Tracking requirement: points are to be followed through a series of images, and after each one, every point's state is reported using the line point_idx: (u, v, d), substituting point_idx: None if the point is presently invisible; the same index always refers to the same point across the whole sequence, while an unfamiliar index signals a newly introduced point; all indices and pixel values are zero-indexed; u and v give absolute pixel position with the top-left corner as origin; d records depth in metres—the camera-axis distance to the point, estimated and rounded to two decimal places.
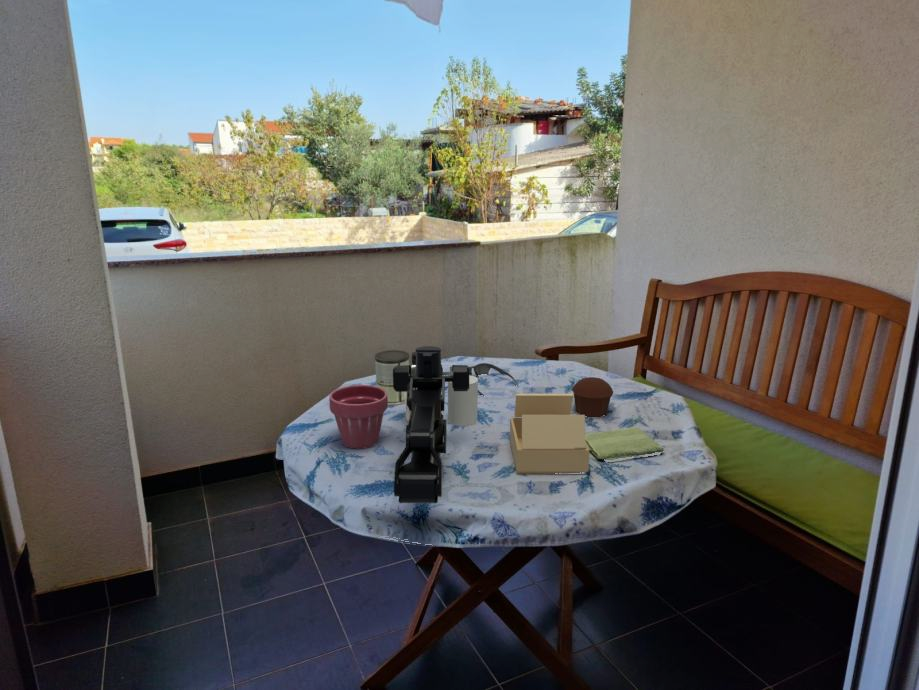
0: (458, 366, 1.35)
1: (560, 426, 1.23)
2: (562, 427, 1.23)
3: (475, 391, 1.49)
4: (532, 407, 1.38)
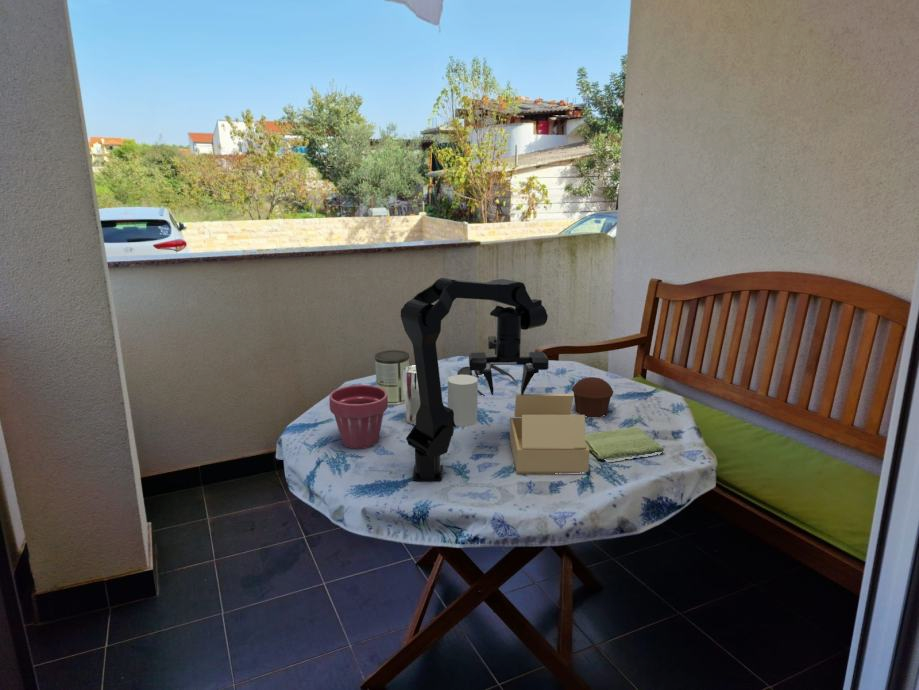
0: None
1: (560, 426, 1.23)
2: (562, 427, 1.23)
3: (475, 391, 1.49)
4: (532, 407, 1.37)
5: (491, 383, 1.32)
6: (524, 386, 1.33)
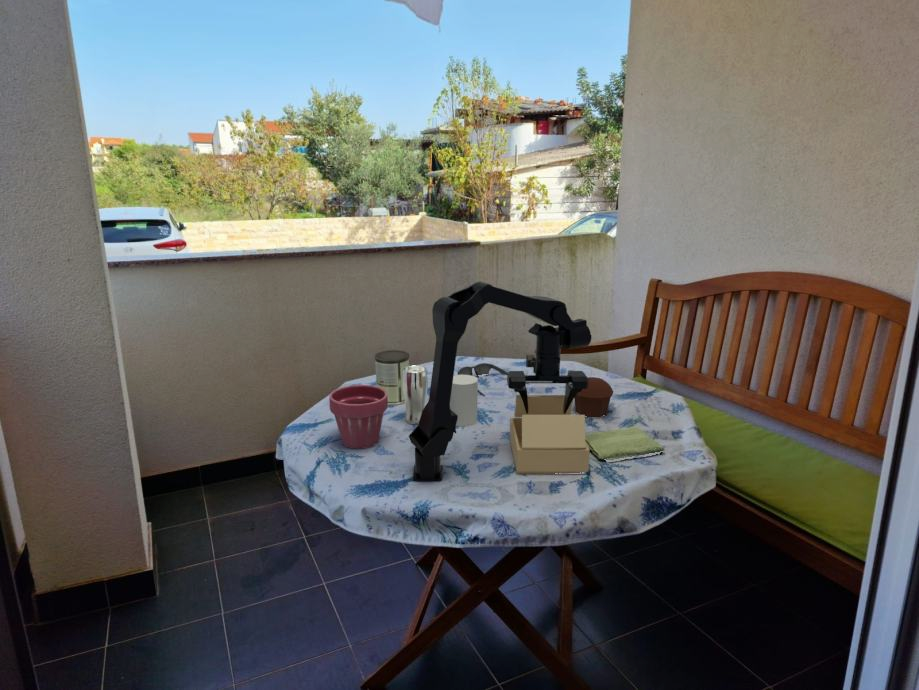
0: None
1: (560, 426, 1.23)
2: (562, 427, 1.23)
3: (475, 391, 1.49)
4: (532, 408, 1.37)
5: (526, 402, 1.31)
6: (567, 405, 1.32)
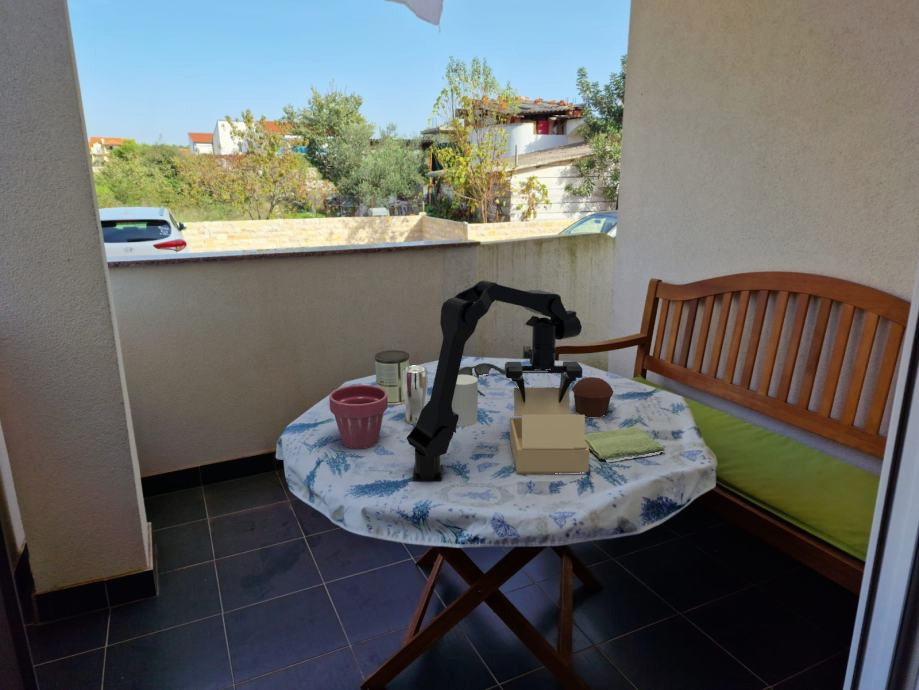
0: None
1: (560, 426, 1.23)
2: (562, 427, 1.23)
3: (475, 391, 1.49)
4: (531, 403, 1.40)
5: (523, 391, 1.37)
6: (562, 394, 1.38)
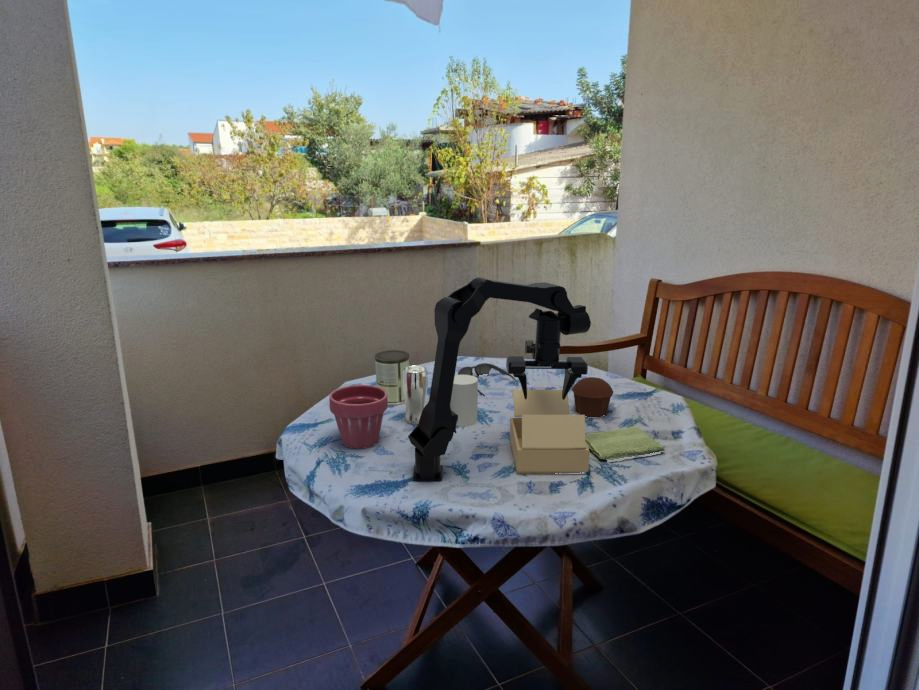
0: None
1: (560, 426, 1.23)
2: (562, 427, 1.23)
3: (475, 391, 1.49)
4: (530, 403, 1.41)
5: (525, 387, 1.32)
6: (566, 391, 1.33)
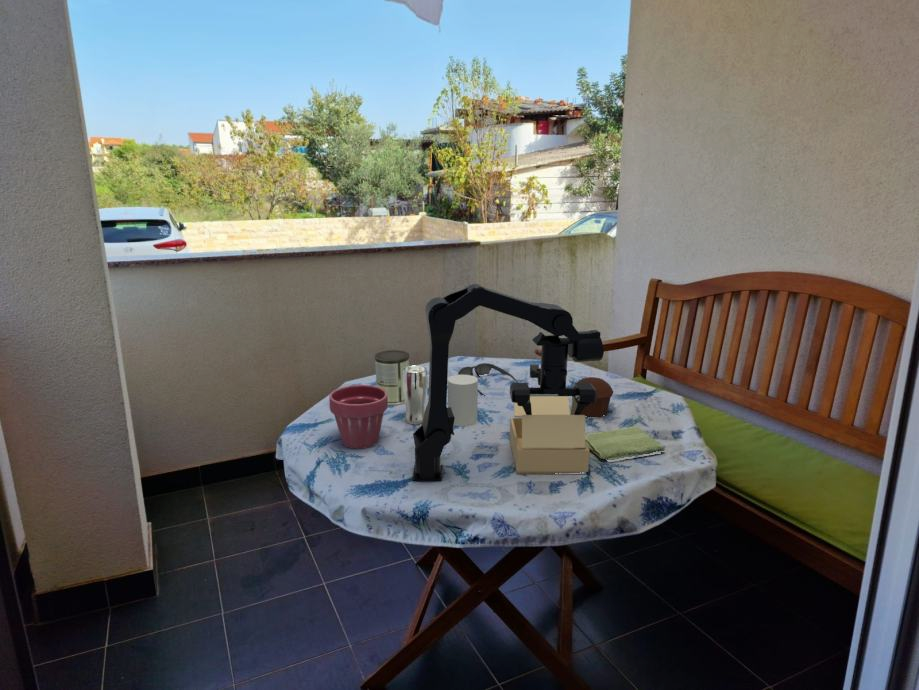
0: None
1: (560, 426, 1.23)
2: (562, 427, 1.23)
3: (475, 391, 1.49)
4: None
5: None
6: None
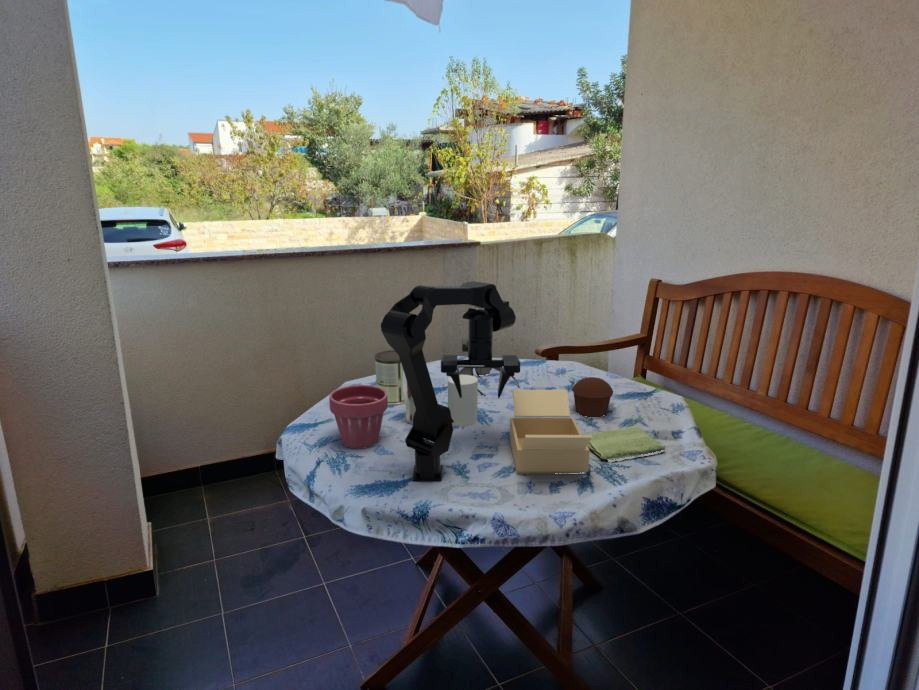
0: None
1: (564, 441, 1.19)
2: (565, 442, 1.19)
3: (475, 391, 1.49)
4: (530, 404, 1.41)
5: (459, 386, 1.32)
6: (500, 389, 1.32)
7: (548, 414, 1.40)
